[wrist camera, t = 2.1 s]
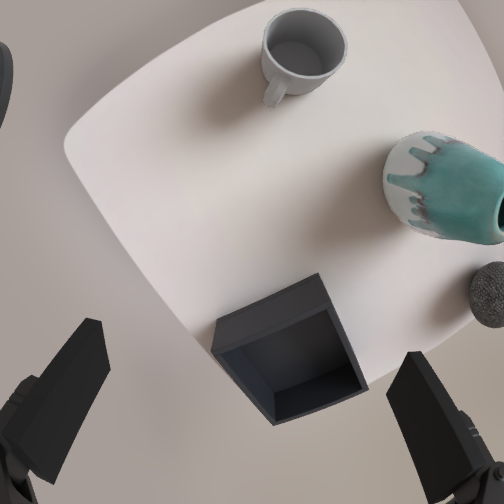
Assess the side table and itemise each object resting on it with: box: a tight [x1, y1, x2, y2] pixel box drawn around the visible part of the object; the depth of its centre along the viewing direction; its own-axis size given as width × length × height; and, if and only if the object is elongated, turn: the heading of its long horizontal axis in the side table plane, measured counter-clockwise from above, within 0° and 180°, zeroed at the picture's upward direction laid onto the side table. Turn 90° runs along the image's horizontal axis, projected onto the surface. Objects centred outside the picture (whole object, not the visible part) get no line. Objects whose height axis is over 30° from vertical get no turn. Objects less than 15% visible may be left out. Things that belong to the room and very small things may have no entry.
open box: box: [211, 273, 369, 426], centre depth 37 cm, size 17×15×7 cm
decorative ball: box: [469, 262, 504, 328], centre depth 32 cm, size 10×10×10 cm
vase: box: [383, 131, 504, 245], centre depth 24 cm, size 12×12×18 cm
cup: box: [261, 8, 348, 108], centre depth 24 cm, size 7×10×9 cm
